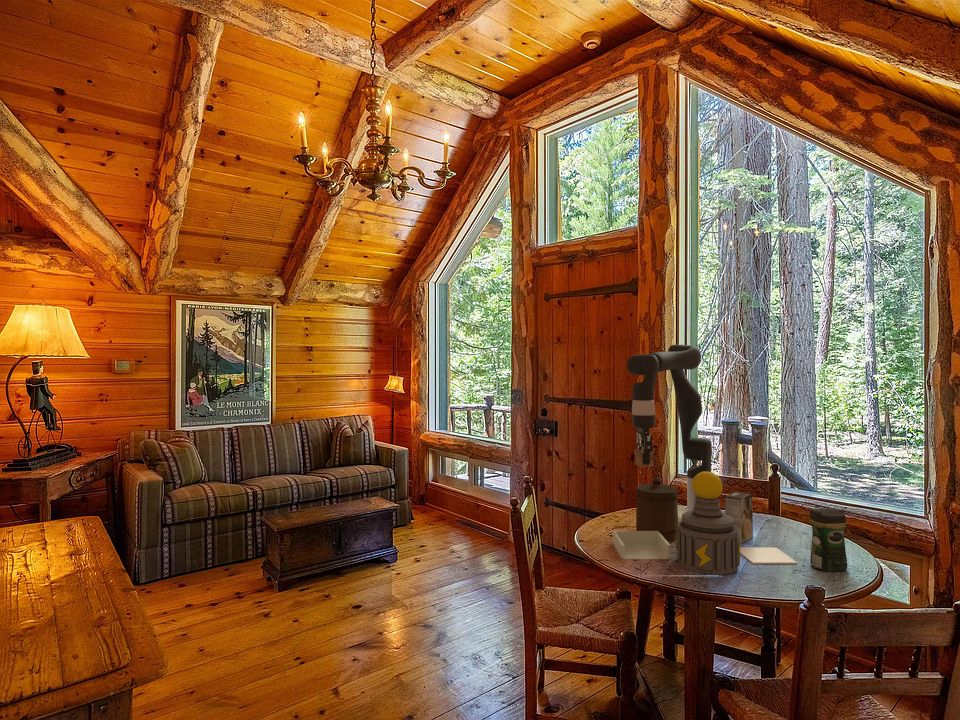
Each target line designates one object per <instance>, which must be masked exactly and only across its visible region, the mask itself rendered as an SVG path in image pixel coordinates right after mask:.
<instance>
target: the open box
mask: <svg viewBox="0 0 960 720" xmlns="http://www.w3.org/2000/svg"><path fill="white" fill-rule="evenodd" d="M612 545H613V546H614V549H615V551H616V552H617V553H618V555H619V557H620V558H621V560H671V559H672V545H671V543H670V542H667V540H666V539H665V538H664V537H663V536H662V535H661V534H660V532H659V531H636V530H613V531H612Z"/></svg>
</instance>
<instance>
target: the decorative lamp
mask: <svg viewBox="0 0 960 720" xmlns="http://www.w3.org/2000/svg"><path fill="white" fill-rule="evenodd" d="M692 488H693V491H694V493H695V494H696V495H697V497H696V500H697V501H696V502H695V504H694V506H695V507H694V508H693V510H692V511H688V512H687V511H686V512H684V513H682V514H681V521H680V522H678V528H677V531H676V534H677V540H676V543H675V547H676V550H677V551H676V553H677V558H678V561H679V563H680V564H681V566H683V567H685V568H686V569H688V570H691V571H694V572H698V573H702V574H707V575H723V576H725V575H731V574H734V573H736V571H737V570H738V569H739V567H740V564H741V551H740V548H741V543H740V536H739V534H738V531H737V528H736V527H735V526H734V519H733V518H732V517H731V516H729V515H727V514H725V512H723V511H722V509H721V508H722V507H721V504H720V501H719V497H720V496H721V495H722V492H723V483H722V480H721V478H720V477H719V476H718V475H717V474H716V473H714V472H713V471H711V472H701V473H699V474H697V475H696V476H695V477H694V479H693V482H692Z"/></svg>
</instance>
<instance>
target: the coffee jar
mask: <svg viewBox="0 0 960 720" xmlns="http://www.w3.org/2000/svg"><path fill="white" fill-rule="evenodd" d="M809 512H810V513H809V523H810V525H811V529H812V531H811V532H812V535H811V549H810V558H809V560H810V561H809V562H810V565H811V566H812V567H813V568H815V569H816V570H820V571H823V572H842V571H846V570H847V569H848V559H847V552H846V551H847V550H846V542H845V541H846V540H845V530H846V527H847V519H846V518H847V517H846V513H845V512H844V510H841V509H838V508H836V507H832V508H830V507H829V508H827V507H826V508H825V507H824V508H812V509H811V510H810V511H809Z"/></svg>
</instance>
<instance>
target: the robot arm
mask: <svg viewBox="0 0 960 720" xmlns="http://www.w3.org/2000/svg"><path fill="white" fill-rule="evenodd" d="M701 360H702V355H701V350H700V349H699V348H698V347H697V346H695V345H688V344H677V343H676V344H672V345H670V346H669V348H668V349H667V351H656V352H651V353H644V354H643V353H641V354H638V353H637V354H632V355H630V357H628V358H627V361H626V369H627V371H628V372H629V373H630V374H631V375H634V376H644V378H643V379H642V381H639V382H635V383H633V385H632V403H631V405H632V406H631V414H632V415H631V422H632V424H631V426H632V427H633V428H638V429H636V430H635V439H636V440H635V441H636V447H637V449H642V453H643V464H644V465H649V464H650V452H652V451H653V438H654V437H653V435H652V433H651V432H650V429H653V428H655V427H656V406H655V386H656V381H657V376H658V373H661V372H664V371H669V372H670V375H671V379H672V382H673V383H672V384H673V388H674V395H675V402H676V409H677V414H678V419H679V424H680V432H681V433H680V435H681V446H682V448H681V449H682V453H683V457H684V458H685V459H686V460H689V461H690V460H691V461H699V462H701V464H700V465H698V466H695V467H690V468H689V469H687V470H686V496H687V499H686V500H687V501H686V503H687V504H686V508H687V509H686V512H688V511H692V510H693V508H694V507H695V506H694V504H695V502H696V501H697V500H696V497H697V495H696V494H695V493H694V491H693V488H692V482H693V479H694V477H695V476H696V475H697V474H699V473H701V472H712V457H713V444H712V441H711V439H710V438H707V437H694V436H692V431H693V428H695V425H696V423H698V421H699V419H700V418H701V415H702V413H703V404H702V398H701V395H700V393H699V390H698V389H697V387H695V385H693V383H692V382H691V381H690V380H689V379H688V377H687V375H686V373H685V370H695V369H696V368H697V367H699V366H700V363H701Z"/></svg>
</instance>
